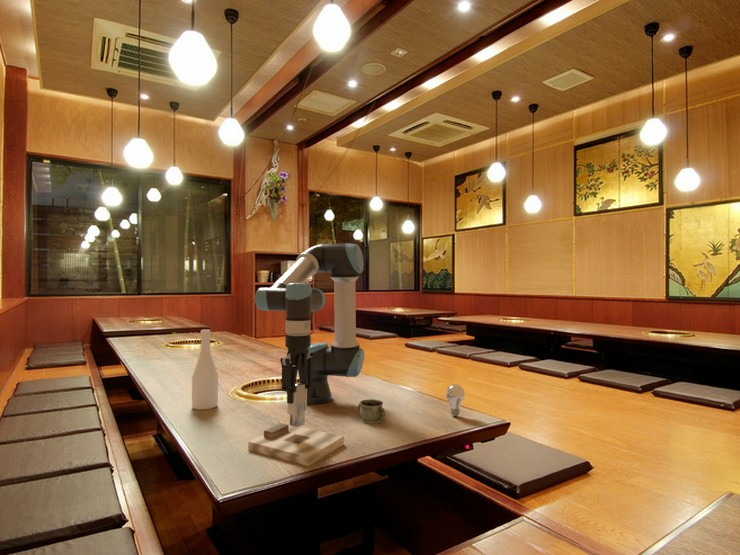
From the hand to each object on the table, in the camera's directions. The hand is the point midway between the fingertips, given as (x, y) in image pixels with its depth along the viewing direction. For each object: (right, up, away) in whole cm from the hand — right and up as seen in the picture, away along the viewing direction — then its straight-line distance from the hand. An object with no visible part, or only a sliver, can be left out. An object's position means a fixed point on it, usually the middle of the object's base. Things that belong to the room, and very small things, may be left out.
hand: (297, 411), depth 134 cm
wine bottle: (-42, -10, +39) cm, 59 cm away
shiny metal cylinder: (0, -4, 0) cm, 4 cm away
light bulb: (+53, -11, +31) cm, 63 cm away
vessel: (+22, -11, +26) cm, 36 cm away
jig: (0, -11, 0) cm, 11 cm away
